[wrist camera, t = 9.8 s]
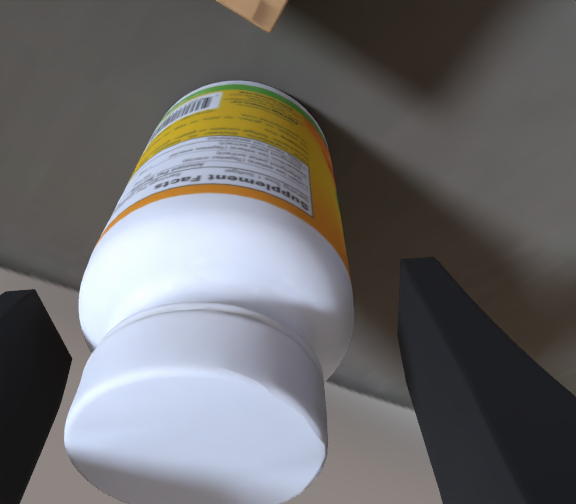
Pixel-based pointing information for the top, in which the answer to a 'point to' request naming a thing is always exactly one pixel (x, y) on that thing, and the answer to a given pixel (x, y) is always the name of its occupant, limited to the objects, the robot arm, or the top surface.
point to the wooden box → (257, 11)
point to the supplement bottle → (215, 309)
